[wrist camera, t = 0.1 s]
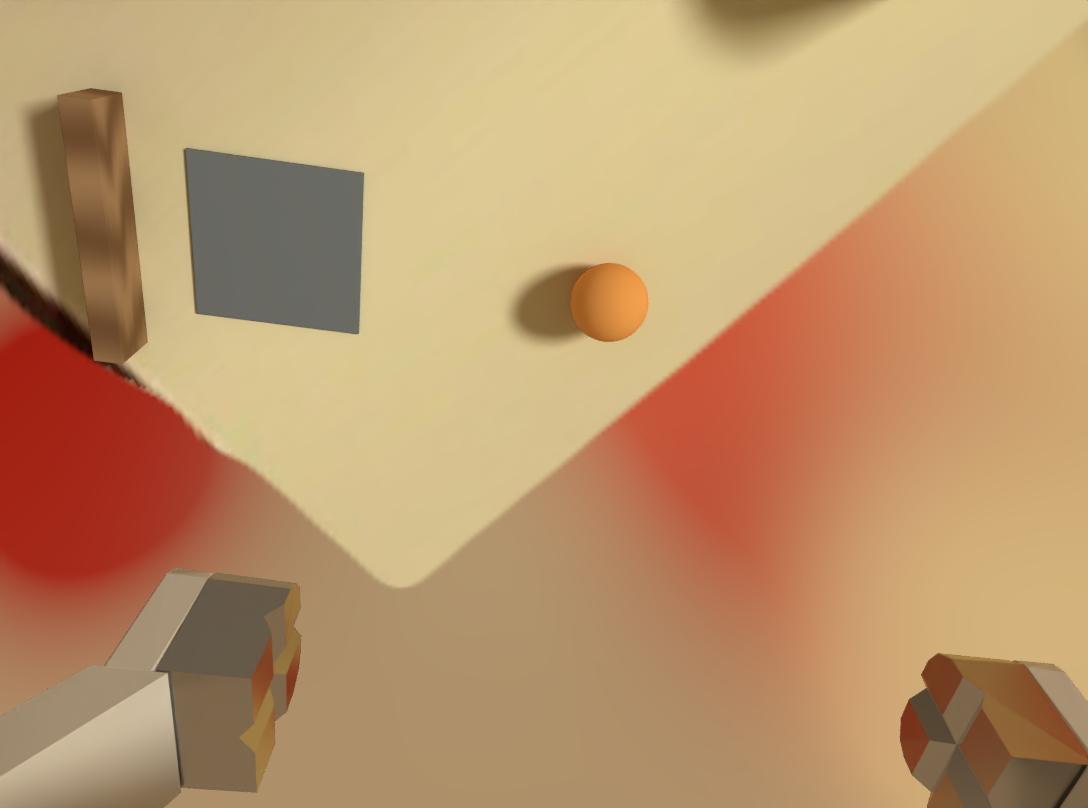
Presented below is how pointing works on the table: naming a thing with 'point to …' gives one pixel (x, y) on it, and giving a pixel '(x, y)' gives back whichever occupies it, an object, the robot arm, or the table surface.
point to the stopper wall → (104, 221)
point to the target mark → (276, 240)
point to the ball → (609, 302)
